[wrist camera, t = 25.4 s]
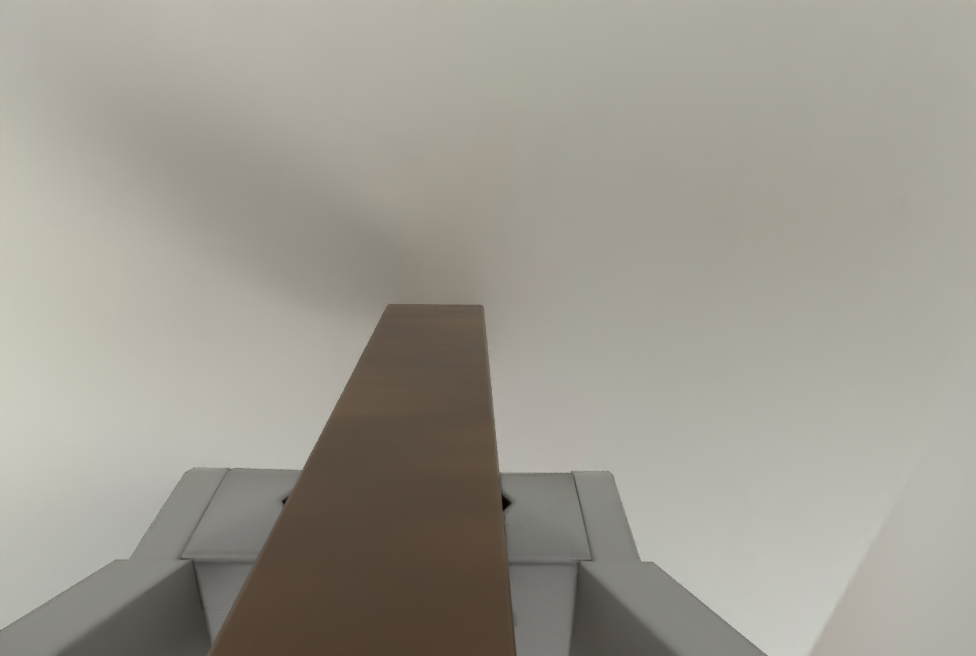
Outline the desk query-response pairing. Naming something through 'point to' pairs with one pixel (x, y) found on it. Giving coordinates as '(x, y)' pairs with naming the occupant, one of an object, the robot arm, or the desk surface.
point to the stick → (392, 511)
